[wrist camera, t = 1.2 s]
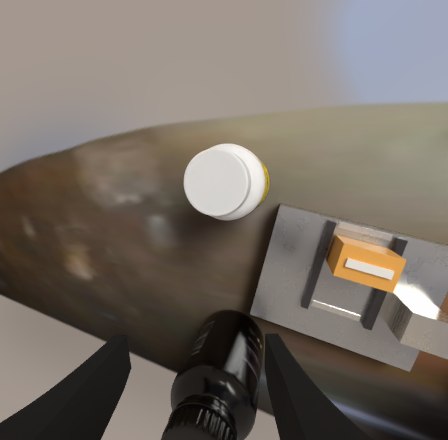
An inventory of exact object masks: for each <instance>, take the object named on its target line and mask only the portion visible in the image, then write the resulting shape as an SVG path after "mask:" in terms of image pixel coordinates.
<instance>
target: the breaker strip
mask: <svg viewBox="0 0 448 440" xmlns="http://www.w3.org/2000/svg"><path fill="white" fill-rule="evenodd" d="M335 235H339V236H343V237H347V238H351V239H355V240H358V241H362V242H366V243H370V244H374V245H377V246H381V247H385V248H388V249H390V250H392V251H393V252H395V253H396V254H398V255H399V256H401V257H402V258H404V259H406V260H407V261H406V263H405V266H404V268H403V271H402V273H401V275H400V278H399V280H398V283H397V285H396V287H395V290H394V292H393V293H390V292H387V291H384V290H380V289H377V288H374V287H370V286H367V285H364V284H360V283H357V282H354V281H350V280H347V279H344V278H340V277H337V276H334V275H333V274H332V272H331V270H330V268H329V266H328V264H327V259H328V256H329V253H330V250H331V247H332V244H333V241H334V238H335ZM447 292H448V244H444V243H440V242H436V241H432V240H428V239H424V238H420V237H416V236H412V235H408V234H404V233H400V232H396V231H392V230H388V229H384V228H380V227H376V226H371V225H367V224H363V223H359V222H355V221H351V220H347V219H343V218H339V217H335V216H331V215H327V214H323V213H319V212H315V211H311V210H307V209H303V208H299V207H295V206H291V205H287V204H283V203H281V204H280V207H279V211H278V215H277V218H276V222H275V225H274V229H273V233H272V236H271V240H270V243H269V247H268V251H267V254H266V258H265V261H264V265H263V269H262V272H261V276H260V279H259V283H258V287H257V290H256V294H255V298H254V301H253V305H252V308H251V312H250V314H251V315H253V316H256V317H259V318H262V319H264V320H267V321H270V322H273V323H276V324H278V325H281V326H284V327H287V328H289V329H292V330H295V331H298V332H301V333H303V334H306V335H309V336H312V337H314V338H317V339H320V340H323V341H326V342H328V343H331V344H334V345H337V346H339V347H342V348H345V349H348V350H351V351H353V352H356V353H359V354H362V355H364V356H367V357H370V358H373V359H376V360H378V361H381V362H384V363H387V364H389V365H392V366H395V367H398V368H401V369H403V370H406V371H409V372H410V370H411V368H412V366H413V364H414V362H415V360H416V358H417V355H418V353H419V351H420V350H422V351H425V352H428V353H431V354H434V355H436V356H439V357H442V358H445V359H448V315H446V314H445V313H444V312H443V311H442V310H440V307H441V304H442V302H443V300H444V298H445V296H446V294H447Z"/></svg>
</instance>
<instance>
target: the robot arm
mask: <svg viewBox="0 0 448 440" xmlns="http://www.w3.org/2000/svg"><path fill="white" fill-rule="evenodd" d="M130 370H131V363H130V357H129V349H128V342H127V335H122V336H114V337H113V338H111V339H110V340H109V341H108V342H107V343H106V344H105V345H103V346H102V347H101V348H100V349H99V350H98V351H97V352H95V353H94V354H93V355H92V356H91V357H90V358H88V359H87V360H86V361H85V362H84V363H83V364H81V365H80V366H79V367H78V368H77V369H75V370H74V371H73V372H72V373H70V374H69V375H68V376H67V377H66V378H64V379H63V380H62V381H61V382H59V383H58V384H57V385H55V386H54V387H53V388H51V389H50V390H49V391H47V392H46V393H45V394H43V395H42V396H40V397H39V398H38V399H36V400H35V401H33V402H32V403H30V404H29V405H27V406H26V407H24V408H23V409H21V410H20V411H18V412H17V413H15V414H13V415H12V416H10V417H9V418H7V419H6V420H4V421H2V422H1V423H0V440H101V438H102V436H103V434H104V431H105V429H106V427H107V425H108V423H109V421H110V419H111V417H112V414H113V412H114V410H115V408H116V406H117V404H118V401H119V399H120V397H121V395H122V393H123V390H124V388H125V385H126V382H127V379H128V376H129V373H130ZM265 372H266V379H267V386H268V391H269V396H270V400H271V404H272V408H273V412H274V416H275V420H276V424H277V428H278V433H279V437H280V440H373V439H371V438H370V437H369V436H368V435H366V434H365V433H364V432H363V431H362V430H361V429H360V428H358V427H357V426H356V425H355V424H354V423H353V422H352V421H351V420H350V419H348V418H347V417H346V416H345V415H344V414H343V413H342V412H341V411H340V410H339V409H338V408H337V407H336V406H335V405H334V404H333V403H332V402H331V401H330V400H329V399H328V398H327V397H326V396H325V395H324V394H323V393H322V392H321V390H320V389H319V388H318V387H317V386H316V385H315V384H314V382H313V381H312V380H311V379H310V378H309V376H308V375H307V374H306V373H305V372H304V370H303V369H302V368H301V366H300V365H299V364H298V362H297V361H296V360H295V358H294V357H293V356H292V354H291V353H290V351H289V350H288V348H287V347H286V345H285V344H284V342H283V341H282V339H281V337H280V336H279V335H278V334H265Z"/></svg>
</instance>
